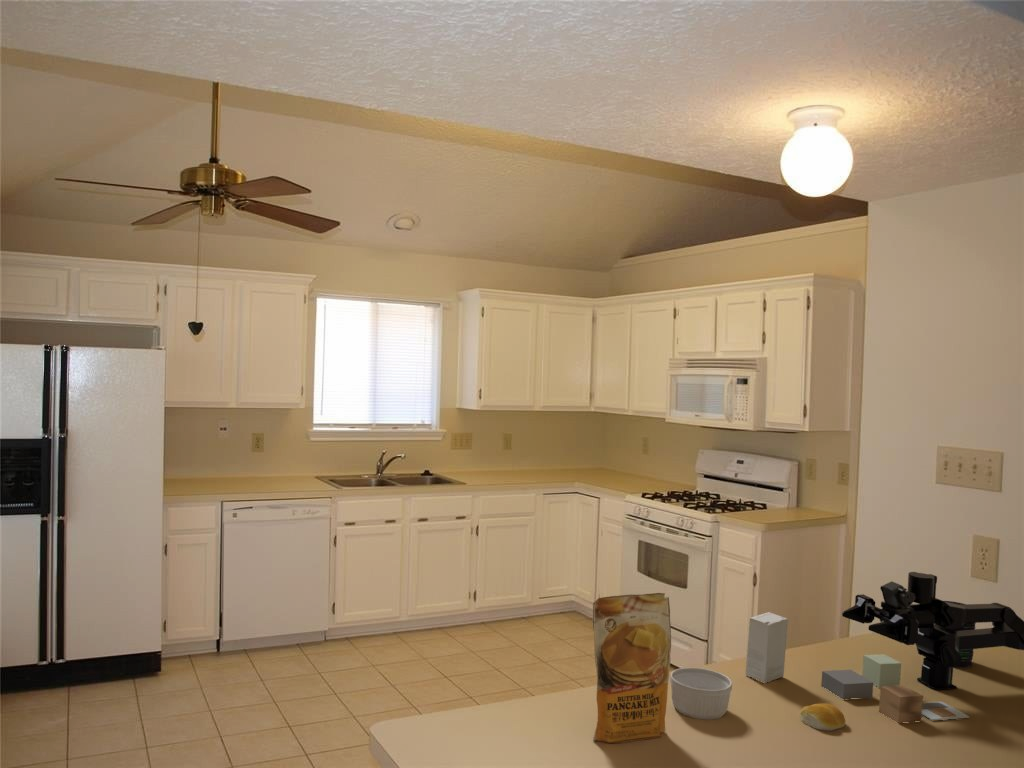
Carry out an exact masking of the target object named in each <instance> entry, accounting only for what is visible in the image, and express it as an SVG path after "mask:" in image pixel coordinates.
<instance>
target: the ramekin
mask: <svg viewBox="0 0 1024 768" xmlns="http://www.w3.org/2000/svg"><path fill="white" fill-rule="evenodd" d="M669 680H670V683H671V700H672V704H673V706H674V707H675V709H676V710H677V711H678V712H679V713H680V714H682V715H684V716H687V717H689V718H692V719H698V720H709V721H710V720H716V719H720V718H721V717H723V715H725V714H726V712H727V711H728V708H729V707H728V706H729V704H730V703H729V702H730V698H731V697H730V696H731V692H732V690H733V682H732V680H731V679H730V678H729V677H728V676H727V675H726V674H723V673H721V672H719V671H715V670H712V669H708V668H701V667H680V668H676V669H674V670H672V671H671V672H670V674H669Z"/></svg>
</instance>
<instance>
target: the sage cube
mask: <svg viewBox="0 0 1024 768" xmlns="http://www.w3.org/2000/svg"><path fill="white" fill-rule="evenodd" d="M901 672H902V662H900V661H899V660H897V659H894V658H892V657H890V656H888V655H886V654H883V653H881V654H864V655H863V661H862V673H861V674H862V675H861V676H863V677H865V678H866V679H868V680H870V681H871V682H873V686H874V685H875V686H877V687H878V688H877V687H876V688H877V689H881V686H890V685H901V674H902V673H901ZM875 686H874V687H875Z"/></svg>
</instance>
